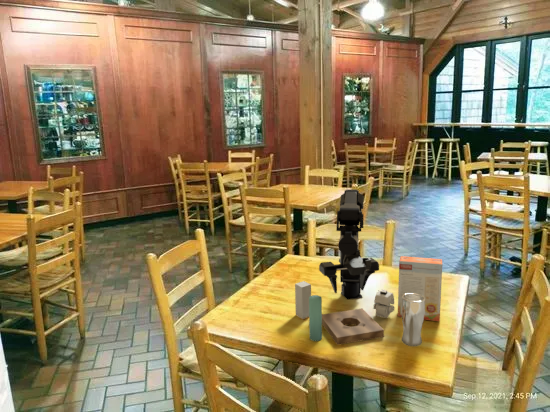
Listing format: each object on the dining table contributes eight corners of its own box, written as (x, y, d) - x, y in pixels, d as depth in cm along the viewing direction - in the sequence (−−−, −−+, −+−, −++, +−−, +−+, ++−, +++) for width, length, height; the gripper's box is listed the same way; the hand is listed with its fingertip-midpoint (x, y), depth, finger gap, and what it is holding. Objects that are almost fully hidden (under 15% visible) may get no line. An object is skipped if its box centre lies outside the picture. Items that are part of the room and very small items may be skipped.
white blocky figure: (394, 315, 155) (395, 288, 152) (388, 323, 149) (389, 295, 147) (378, 311, 158) (378, 285, 156) (371, 319, 152) (372, 292, 150)
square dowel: (304, 311, 159) (304, 281, 157) (311, 315, 156) (311, 284, 153) (295, 314, 157) (295, 283, 155) (302, 319, 154) (301, 287, 151)
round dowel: (319, 334, 144) (319, 294, 140) (323, 340, 140) (323, 299, 137) (307, 335, 143) (307, 296, 140) (311, 342, 139) (311, 301, 136)
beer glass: (396, 336, 141) (398, 293, 137) (417, 334, 141) (419, 291, 138) (405, 348, 134) (406, 302, 130) (427, 346, 134) (429, 301, 131)
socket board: (362, 314, 156) (362, 308, 155) (383, 336, 140) (383, 329, 140) (319, 321, 152) (319, 314, 151) (337, 344, 137) (337, 337, 136)
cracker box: (439, 314, 154) (442, 258, 149) (439, 322, 148) (443, 264, 144) (398, 309, 159) (400, 254, 154) (397, 317, 153) (399, 260, 149)
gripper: (330, 255, 131) (330, 304, 134) (387, 250, 135) (386, 297, 138) (318, 245, 141) (318, 291, 144) (372, 240, 145) (371, 285, 148)
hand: (348, 291), depth 143 cm, fingers open, 9 cm apart
